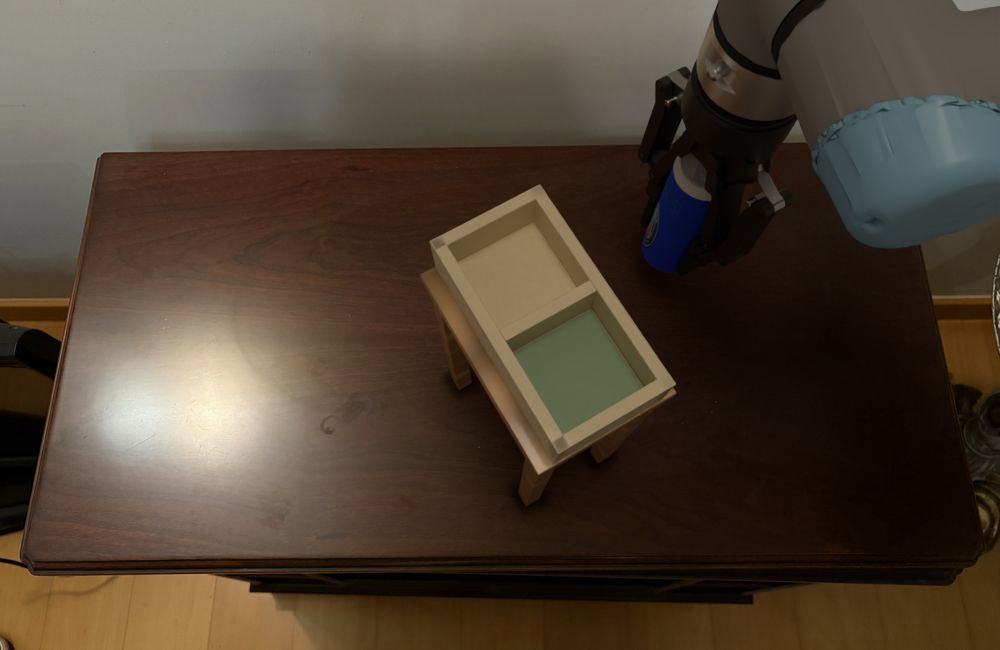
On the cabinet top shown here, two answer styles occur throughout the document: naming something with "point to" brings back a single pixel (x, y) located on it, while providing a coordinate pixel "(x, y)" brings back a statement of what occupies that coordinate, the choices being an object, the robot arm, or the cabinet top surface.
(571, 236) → the tray
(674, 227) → the beverage can
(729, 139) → the robot arm
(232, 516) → the cabinet top surface
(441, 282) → the shelf
